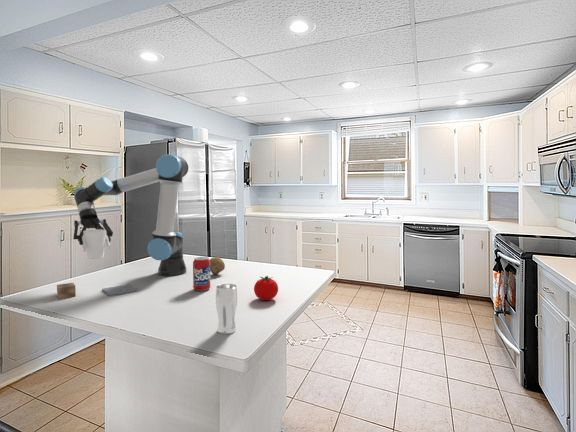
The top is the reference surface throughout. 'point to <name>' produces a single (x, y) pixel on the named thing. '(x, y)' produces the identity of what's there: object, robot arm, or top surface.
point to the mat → (119, 290)
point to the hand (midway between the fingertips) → (97, 248)
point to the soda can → (201, 274)
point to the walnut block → (66, 290)
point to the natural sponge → (216, 265)
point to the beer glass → (226, 307)
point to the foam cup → (95, 243)
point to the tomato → (266, 288)
